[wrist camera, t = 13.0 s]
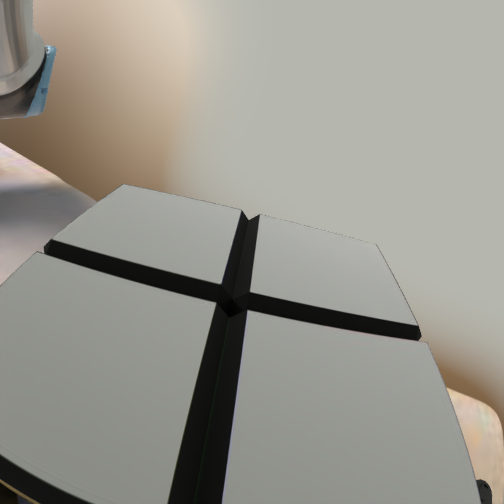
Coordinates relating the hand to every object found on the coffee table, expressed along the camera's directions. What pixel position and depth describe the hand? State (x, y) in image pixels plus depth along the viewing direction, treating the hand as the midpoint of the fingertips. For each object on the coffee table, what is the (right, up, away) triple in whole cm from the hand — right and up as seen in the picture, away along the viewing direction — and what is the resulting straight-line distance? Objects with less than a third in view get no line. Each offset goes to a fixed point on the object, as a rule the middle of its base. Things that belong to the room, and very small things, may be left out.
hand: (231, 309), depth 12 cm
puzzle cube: (-2, -7, -1) cm, 8 cm away
